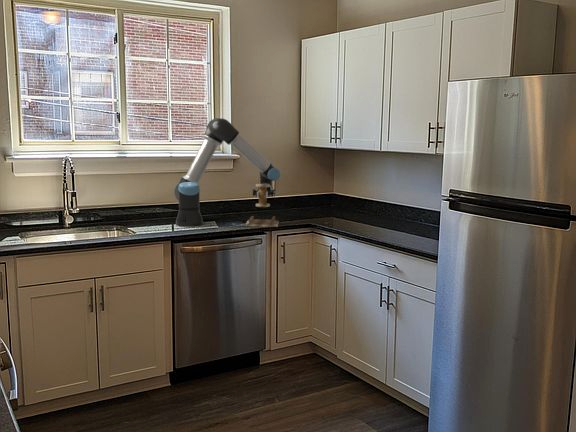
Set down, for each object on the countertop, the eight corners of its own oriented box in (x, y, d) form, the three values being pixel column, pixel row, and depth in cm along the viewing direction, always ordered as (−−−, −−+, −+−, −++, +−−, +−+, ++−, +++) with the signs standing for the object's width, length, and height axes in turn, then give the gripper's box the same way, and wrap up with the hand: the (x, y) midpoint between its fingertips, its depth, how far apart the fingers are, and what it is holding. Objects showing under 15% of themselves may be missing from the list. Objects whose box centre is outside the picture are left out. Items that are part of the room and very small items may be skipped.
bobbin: (259, 207, 333) (259, 185, 331) (253, 205, 340) (253, 184, 338) (272, 206, 337) (272, 184, 335) (265, 204, 344) (266, 183, 342)
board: (245, 226, 333) (245, 219, 333) (247, 222, 347) (247, 215, 347) (277, 226, 333) (277, 220, 332) (278, 222, 347) (278, 216, 346)
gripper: (279, 196, 355) (277, 202, 332) (250, 196, 356) (246, 201, 333) (279, 184, 354) (277, 188, 331) (250, 183, 355) (246, 188, 332)
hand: (262, 195), depth 332 cm, fingers closed on bobbin, 4 cm apart
